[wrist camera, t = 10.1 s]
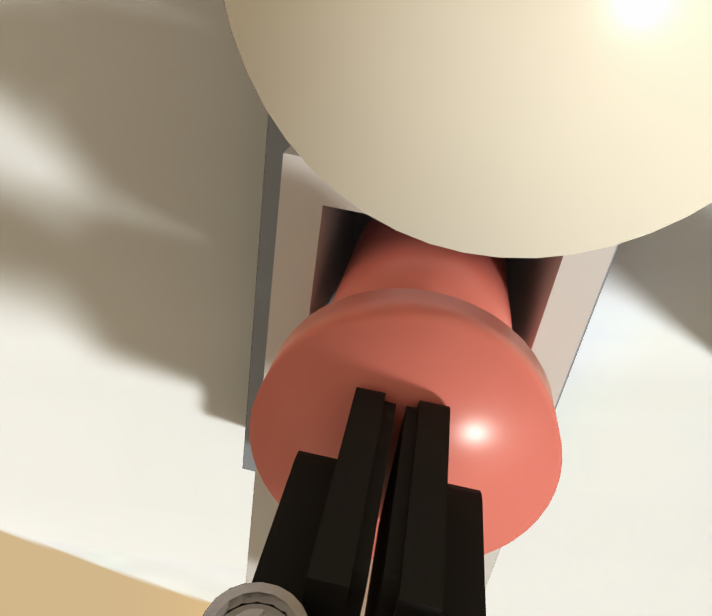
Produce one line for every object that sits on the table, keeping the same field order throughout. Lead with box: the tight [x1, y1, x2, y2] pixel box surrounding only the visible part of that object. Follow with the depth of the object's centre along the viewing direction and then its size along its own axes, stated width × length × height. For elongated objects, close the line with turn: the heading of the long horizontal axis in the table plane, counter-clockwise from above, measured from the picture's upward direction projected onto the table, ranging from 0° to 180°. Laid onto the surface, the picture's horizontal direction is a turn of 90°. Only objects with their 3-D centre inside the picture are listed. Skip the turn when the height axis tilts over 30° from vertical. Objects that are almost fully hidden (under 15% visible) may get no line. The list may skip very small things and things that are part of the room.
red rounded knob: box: [249, 218, 562, 559], centre depth 15 cm, size 6×6×8 cm
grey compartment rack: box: [243, 114, 619, 587], centre depth 19 cm, size 12×26×10 cm, turn 172°
